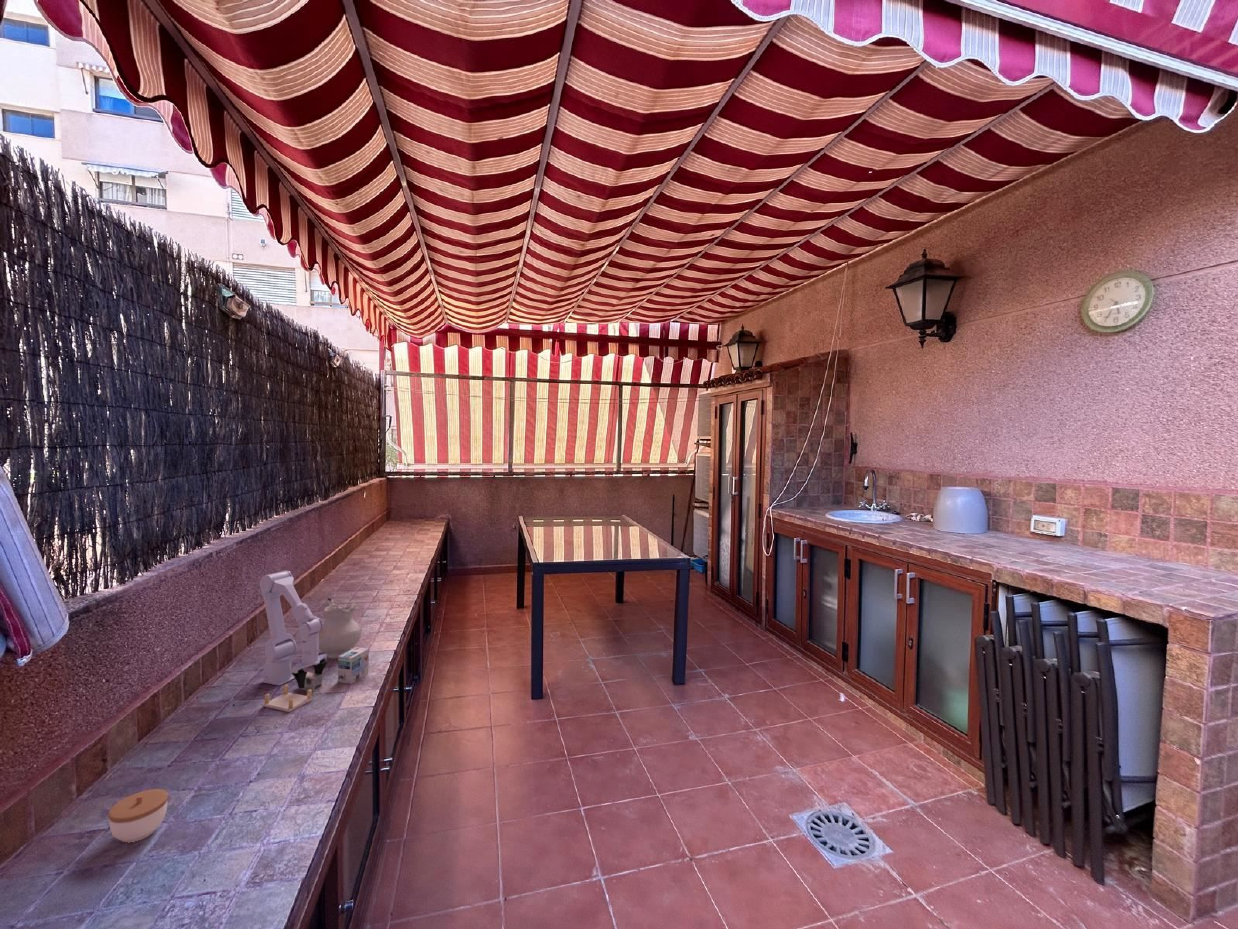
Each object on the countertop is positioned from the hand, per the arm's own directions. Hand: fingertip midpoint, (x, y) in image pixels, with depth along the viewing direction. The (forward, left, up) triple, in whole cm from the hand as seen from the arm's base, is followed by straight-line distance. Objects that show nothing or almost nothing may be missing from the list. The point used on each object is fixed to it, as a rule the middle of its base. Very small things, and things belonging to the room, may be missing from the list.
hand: (309, 683), depth 204 cm
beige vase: (-18, +31, -2) cm, 36 cm away
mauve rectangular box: (0, 0, -2) cm, 2 cm away
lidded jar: (+26, -73, -2) cm, 78 cm away
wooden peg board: (+3, -12, -2) cm, 12 cm away
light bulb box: (+9, +13, -2) cm, 16 cm away
